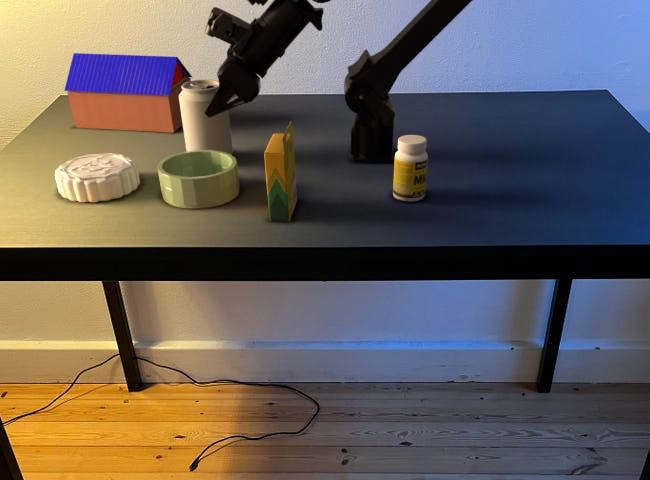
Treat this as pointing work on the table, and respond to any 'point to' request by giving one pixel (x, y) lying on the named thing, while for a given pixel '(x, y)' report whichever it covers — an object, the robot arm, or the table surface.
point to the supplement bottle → (410, 168)
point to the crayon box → (281, 175)
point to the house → (126, 91)
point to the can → (203, 118)
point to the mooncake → (97, 177)
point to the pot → (199, 179)
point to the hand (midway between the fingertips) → (210, 106)
